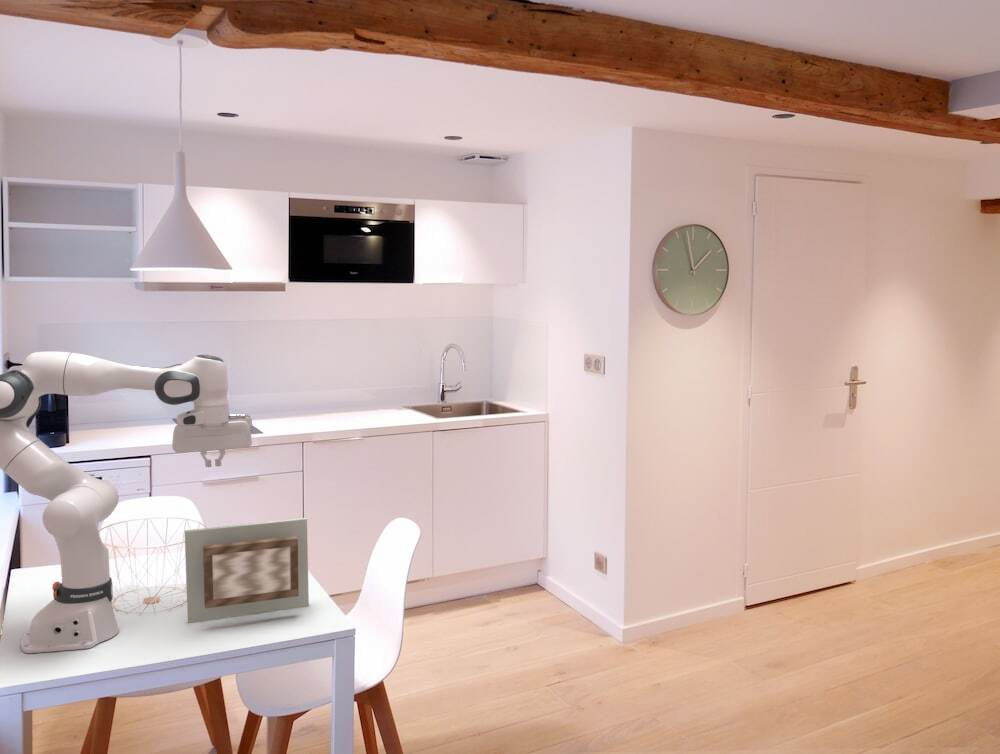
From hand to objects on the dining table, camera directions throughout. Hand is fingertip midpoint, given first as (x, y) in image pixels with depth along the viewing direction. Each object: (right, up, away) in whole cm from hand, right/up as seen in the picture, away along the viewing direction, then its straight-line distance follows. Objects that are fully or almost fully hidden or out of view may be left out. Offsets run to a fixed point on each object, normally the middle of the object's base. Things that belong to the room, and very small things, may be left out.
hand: (213, 466), depth 234 cm
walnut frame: (+11, -36, -2) cm, 37 cm away
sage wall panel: (+9, -41, +3) cm, 42 cm away
